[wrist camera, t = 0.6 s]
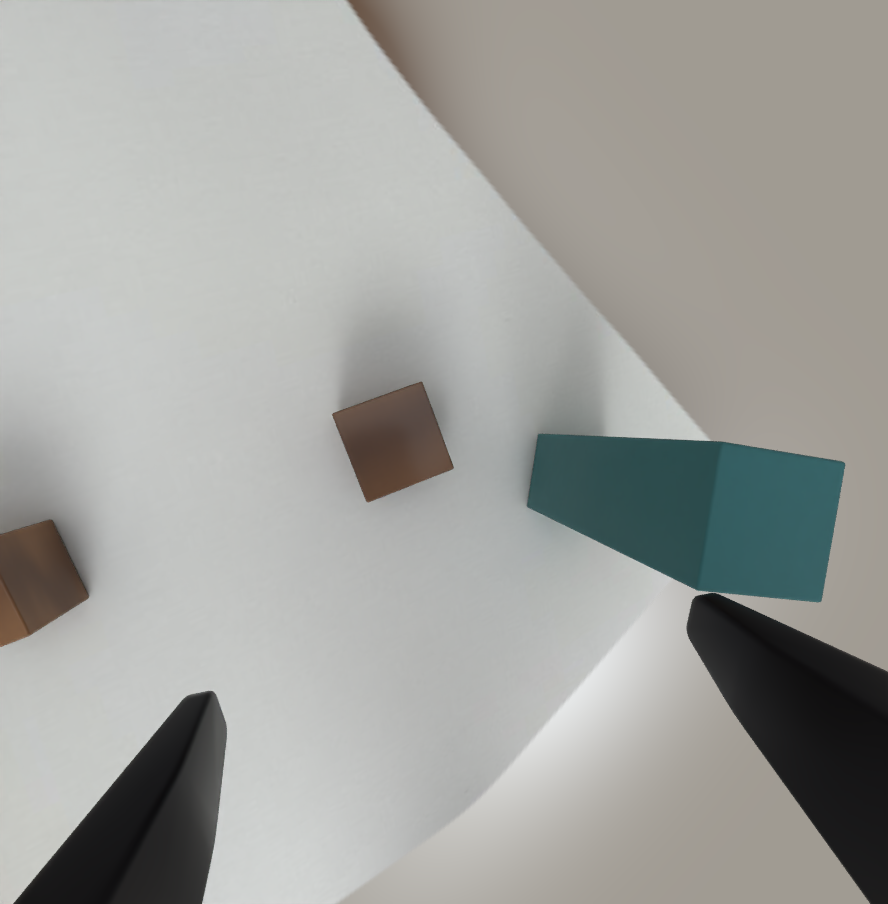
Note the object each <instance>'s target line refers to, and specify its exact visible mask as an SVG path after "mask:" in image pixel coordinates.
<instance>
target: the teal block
mask: <svg viewBox="0 0 888 904" xmlns="http://www.w3.org/2000/svg"><path fill="white" fill-rule="evenodd" d="M844 469H845V463H844V462H842V461H836V460H830V459H824V458H818V457H812V456H805V455H800V454H793V453H788V452H782V451H775V450H769V449H763V448H757V447H750V446H745V445H739V444H733V443H726V442H717V441H694V440H672V439H650V438H627V437H605V436H582V435H560V434H538V439H537V446H536V452H535V459H534V465H533V472H532V478H531V484H530V491H529V497H528V504H527V507H528V508H530V509H533V510H535V511H537V512H539V513H541V514H543V515H545V516H547V517H549V518H551V519H553V520H555V521H557V522H559V523H561V524H563V525H565V526H567V527H569V528H571V529H573V530H575V531H577V532H579V533H581V534H583V535H585V536H588V537H590V538H592V539H594V540H596V541H598V542H600V543H602V544H604V545H606V546H608V547H610V548H612V549H614V550H616V551H618V552H620V553H622V554H624V555H626V556H628V557H630V558H632V559H634V560H636V561H638V562H640V563H643V564H645V565H647V566H649V567H651V568H653V569H655V570H657V571H659V572H661V573H663V574H665V575H667V576H669V577H671V578H673V579H675V580H677V581H679V582H682V583H683V584H685V585H687V586H689V587H691V588H694V589H696V590H698V591H708V592H719V593H729V594H739V595H748V596H759V597H769V598H780V599H789V600H800V601H810V602H821V600H822V595H823V589H824V583H825V578H826V572H827V566H828V561H829V554H830V549H831V543H832V537H833V532H834V526H835V520H836V515H837V509H838V503H839V498H840V492H841V486H842V480H843V475H844Z"/></svg>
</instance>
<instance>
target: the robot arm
mask: <svg viewBox="0 0 888 904" xmlns="http://www.w3.org/2000/svg"><path fill="white" fill-rule="evenodd" d="M687 634H688V637H689V639H690V641H691V643H692V644H693V646H694V648H695V650H696V651H697V653H698V655H699V656H700V658H701V660H702V661H703V663H704V665H705V666H706V668H707V670H708V671H709V673H710V675H711V676H712V678H713V680H714V681H715V683H716V685H717V686H718V688H719V690H720V692H721V693H722V695H723V697H724V698H725V700H726V702H727V703H728V705H729V706H730V708H731V710H732V711H733V713H734V714H735V716H736V717H737V719H738V720H739V722H740V723H741V724H742V726H743V727H744V729H745V730H746V731H747V733H748V734H749V736H750V737H751V738H752V740H753V741H754V743H755V744H756V745H757V747H758V748H759V750H760V751H761V752H762V754H763V755H764V756H765V758H766V759H767V761H768V762H769V763H770V765H771V766H772V768H773V769H774V770H775V772H776V773H777V775H778V776H779V777H780V779H781V780H782V782H783V783H784V784H785V786H786V787H787V788H788V790H789V791H790V793H791V794H792V795H793V797H794V798H795V800H796V801H797V802H798V804H799V805H800V807H801V808H802V809H803V811H804V812H805V813H806V815H807V816H808V818H809V819H810V820H811V822H812V823H813V825H814V826H815V827H816V829H817V830H818V832H819V833H820V834H821V836H822V837H823V839H824V840H825V841H826V843H827V844H828V846H829V847H830V848H831V850H832V851H833V852H834V854H835V855H836V857H837V858H838V859H839V861H840V862H841V864H842V865H843V866H844V867H845V869H846V871H847V872H848V873H849V875H850V876H851V877H852V879H853V880H854V882H855V883H856V884H857V886H858V887H859V888H860V890H861V891H862V893H863V894H864V895H865V897H866V898H867V900H868V901H869V903H870V904H888V672H887V671H885V670H883V669H881V668H879V667H877V666H874V665H872V664H870V663H868V662H866V661H863V660H861V659H859V658H857V657H855V656H852V655H850V654H848V653H846V652H844V651H842V650H839V649H837V648H835V647H833V646H831V645H829V644H826V643H824V642H822V641H820V640H818V639H815V638H813V637H811V636H809V635H806V634H804V633H802V632H800V631H797V630H796V629H793V628H791V627H789V626H787V625H785V624H782V623H780V622H778V621H776V620H774V619H772V618H770V617H767V616H765V615H763V614H761V613H758V612H756V611H754V610H752V609H750V608H748V607H745V606H743V605H741V604H739V603H737V602H735V601H732V600H730V599H728V598H726V597H724V596H721V595H719V594H716V593H709V594H704V595H699V596H696V597H695V598H694V599H693V600H692V604H691V609H690V613H689V617H688V622H687ZM226 740H227V727H226V722H225V719H224V716H223V713H222V710H221V707H220V704H219V702H218V699H217V696H216V694H215V693H214V692H213V691H206V692H201V693H196V694H191V695H188V696H187V697H185V698H184V699H183V700H182V701H181V702H180V704H179V705H178V706H177V707H176V709H175V710H174V711H173V712H172V713H171V715H170V716H169V717H168V718H167V719H166V721H165V722H164V723H163V724H162V725H161V727H160V728H159V729H158V730H157V731H156V733H155V734H154V735H153V736H152V737H151V739H150V740H149V741H148V742H147V743H146V745H145V746H144V747H143V748H142V749H141V751H140V752H139V753H138V754H137V755H136V757H135V758H134V759H133V760H132V761H131V763H130V764H129V765H128V766H127V767H126V769H125V770H124V771H123V772H122V773H121V775H120V776H119V777H118V778H117V779H116V781H115V782H114V783H113V784H112V786H111V787H110V788H109V789H108V790H107V792H106V793H105V794H104V795H103V796H102V798H101V799H100V800H99V801H98V802H97V804H96V805H95V806H94V807H93V808H92V810H91V811H90V812H89V813H88V814H87V816H86V817H85V818H84V819H83V820H82V822H81V823H80V824H79V825H78V826H77V828H76V829H75V830H74V831H73V832H72V834H71V835H70V836H69V837H68V838H67V840H66V841H65V842H64V843H63V844H62V846H61V847H60V848H59V849H58V850H57V852H56V853H55V854H54V855H53V856H52V858H51V859H50V860H49V861H48V863H47V864H46V865H45V866H44V867H43V869H42V870H41V871H40V872H39V873H38V875H37V876H36V877H35V878H34V879H33V881H32V882H31V883H30V884H29V885H28V887H27V888H26V889H25V890H24V891H23V893H22V894H21V895H20V896H19V897H18V899H17V900H16V901H15V902H14V903H13V904H202V901H203V897H204V892H205V887H206V883H207V878H208V873H209V869H210V864H211V859H212V854H213V848H214V843H215V836H216V828H217V820H218V811H219V802H220V793H221V784H222V775H223V766H224V757H225V748H226Z"/></svg>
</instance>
